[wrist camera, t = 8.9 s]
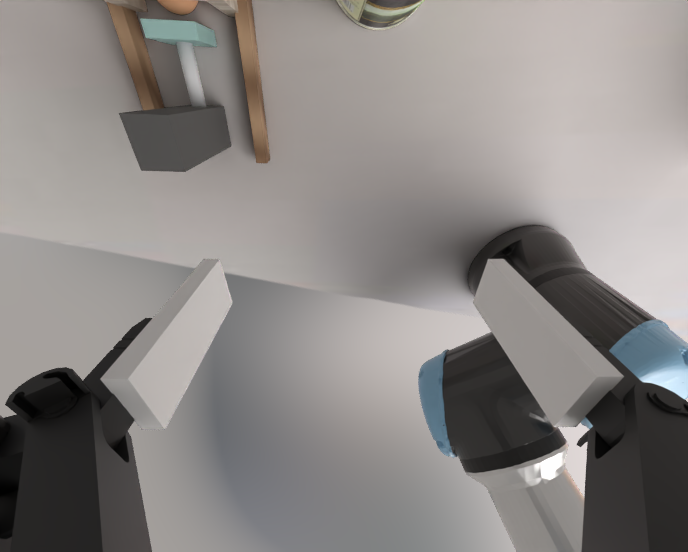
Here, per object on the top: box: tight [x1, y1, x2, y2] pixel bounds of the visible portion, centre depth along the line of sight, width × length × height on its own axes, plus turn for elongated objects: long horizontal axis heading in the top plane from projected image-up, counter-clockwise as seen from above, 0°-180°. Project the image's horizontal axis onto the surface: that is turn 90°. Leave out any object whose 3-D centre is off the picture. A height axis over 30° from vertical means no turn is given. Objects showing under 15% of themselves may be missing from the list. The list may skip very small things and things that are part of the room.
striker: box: [119, 18, 231, 172], centre depth 24 cm, size 10×4×12 cm, turn 178°
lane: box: [104, 0, 270, 163], centre depth 24 cm, size 20×12×6 cm, turn 178°
